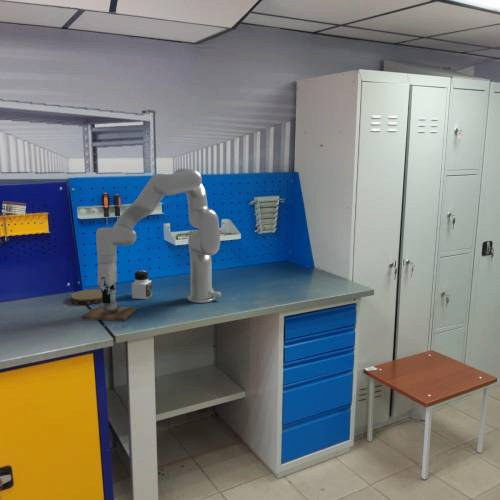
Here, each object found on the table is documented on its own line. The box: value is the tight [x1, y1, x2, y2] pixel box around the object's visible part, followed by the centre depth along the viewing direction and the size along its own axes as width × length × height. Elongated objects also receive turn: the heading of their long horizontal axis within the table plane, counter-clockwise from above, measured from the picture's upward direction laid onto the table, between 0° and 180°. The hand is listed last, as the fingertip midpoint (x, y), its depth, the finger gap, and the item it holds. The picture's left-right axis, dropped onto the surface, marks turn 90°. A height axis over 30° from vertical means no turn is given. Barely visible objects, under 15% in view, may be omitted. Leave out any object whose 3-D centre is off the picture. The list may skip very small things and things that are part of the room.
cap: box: [104, 288, 117, 304], centre depth 212 cm, size 5×5×5 cm
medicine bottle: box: [130, 270, 153, 300], centre depth 237 cm, size 7×7×12 cm
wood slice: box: [70, 288, 103, 306], centre depth 233 cm, size 16×16×3 cm
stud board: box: [81, 300, 138, 322], centre depth 213 cm, size 18×14×5 cm
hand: (109, 300), depth 212 cm, fingers closed on cap, 5 cm apart
